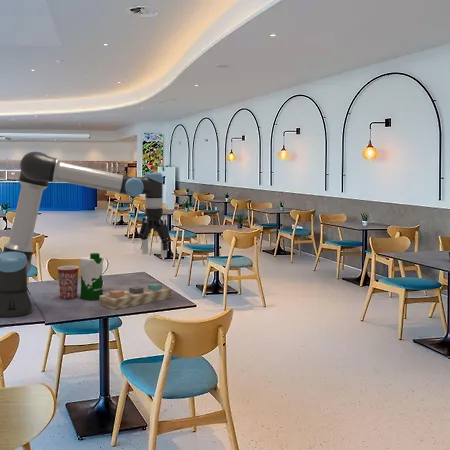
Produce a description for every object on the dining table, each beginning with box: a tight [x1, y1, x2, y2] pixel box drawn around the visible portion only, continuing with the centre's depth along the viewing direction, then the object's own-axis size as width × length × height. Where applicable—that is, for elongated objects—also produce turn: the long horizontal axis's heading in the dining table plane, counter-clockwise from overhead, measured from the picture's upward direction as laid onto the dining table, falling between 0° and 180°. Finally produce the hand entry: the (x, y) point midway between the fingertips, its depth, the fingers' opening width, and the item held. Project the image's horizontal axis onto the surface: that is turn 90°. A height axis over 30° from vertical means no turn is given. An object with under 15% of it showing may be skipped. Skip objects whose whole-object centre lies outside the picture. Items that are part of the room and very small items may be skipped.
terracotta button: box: [109, 289, 125, 298], centre depth 233 cm, size 4×4×3 cm
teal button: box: [147, 282, 163, 291], centre depth 247 cm, size 4×4×3 cm
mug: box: [56, 265, 80, 300], centre depth 247 cm, size 13×9×14 cm
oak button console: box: [99, 286, 172, 311], centre depth 240 cm, size 30×11×4 cm, turn 135°
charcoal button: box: [128, 285, 145, 294], centre depth 240 cm, size 4×4×3 cm
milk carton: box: [78, 252, 105, 301], centre depth 244 cm, size 9×9×20 cm
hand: (154, 255), depth 246 cm, fingers open, 12 cm apart
